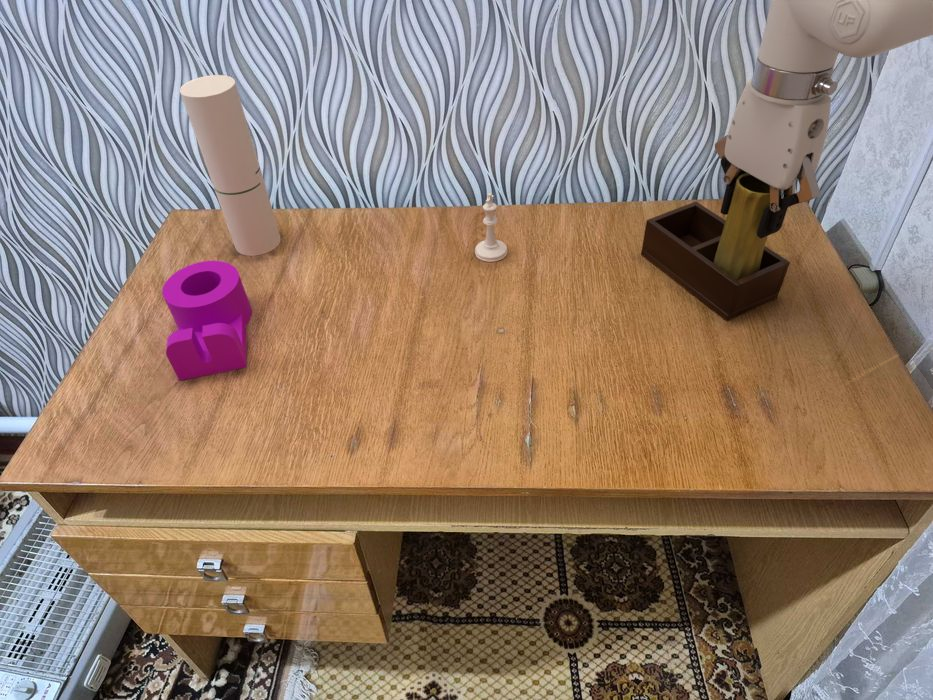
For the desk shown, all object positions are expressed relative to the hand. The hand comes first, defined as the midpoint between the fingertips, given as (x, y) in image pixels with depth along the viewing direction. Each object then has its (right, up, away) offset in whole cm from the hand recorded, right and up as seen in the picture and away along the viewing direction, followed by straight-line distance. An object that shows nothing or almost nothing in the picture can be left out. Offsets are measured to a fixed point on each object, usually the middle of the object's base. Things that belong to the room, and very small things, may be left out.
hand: (749, 220), depth 83 cm
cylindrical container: (-68, +1, +22) cm, 72 cm away
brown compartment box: (-2, -6, +11) cm, 12 cm away
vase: (0, -6, +6) cm, 9 cm away
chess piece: (-32, -1, +17) cm, 36 cm away
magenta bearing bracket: (-70, -14, +7) cm, 71 cm away
